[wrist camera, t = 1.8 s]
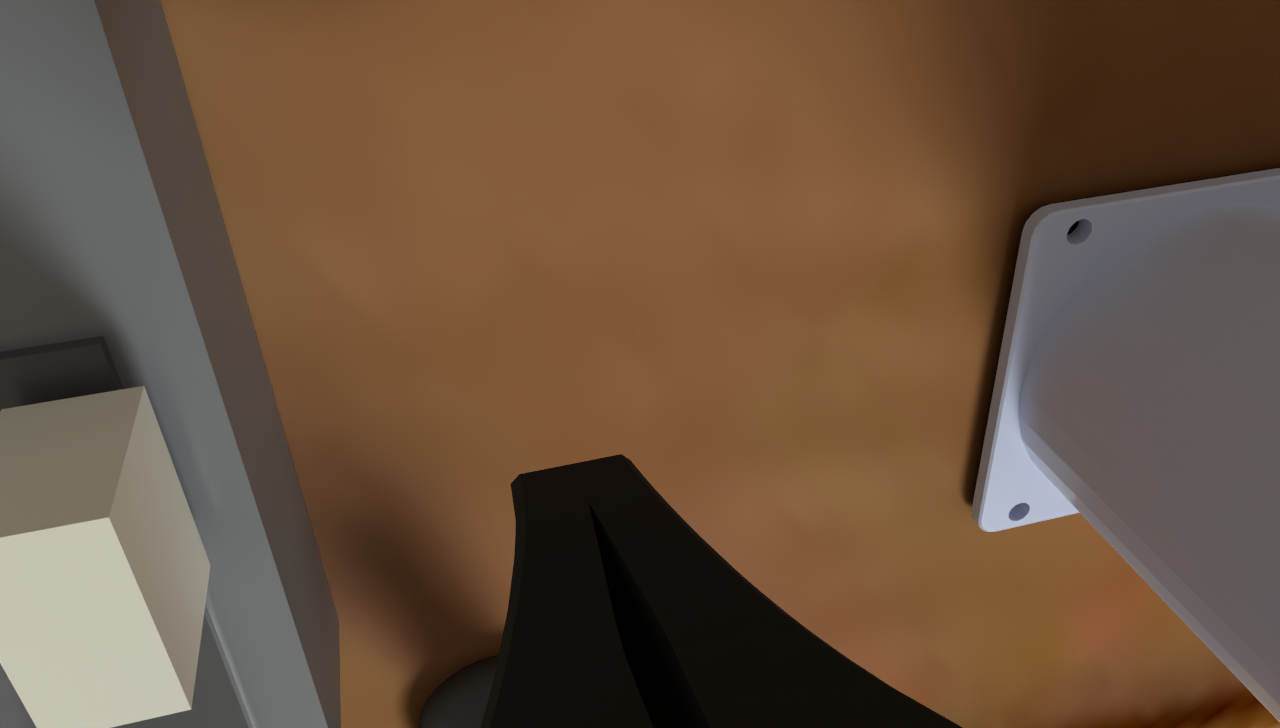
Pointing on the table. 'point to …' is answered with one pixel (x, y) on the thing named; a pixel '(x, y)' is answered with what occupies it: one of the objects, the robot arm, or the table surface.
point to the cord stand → (461, 698)
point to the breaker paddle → (97, 564)
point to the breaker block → (156, 337)
